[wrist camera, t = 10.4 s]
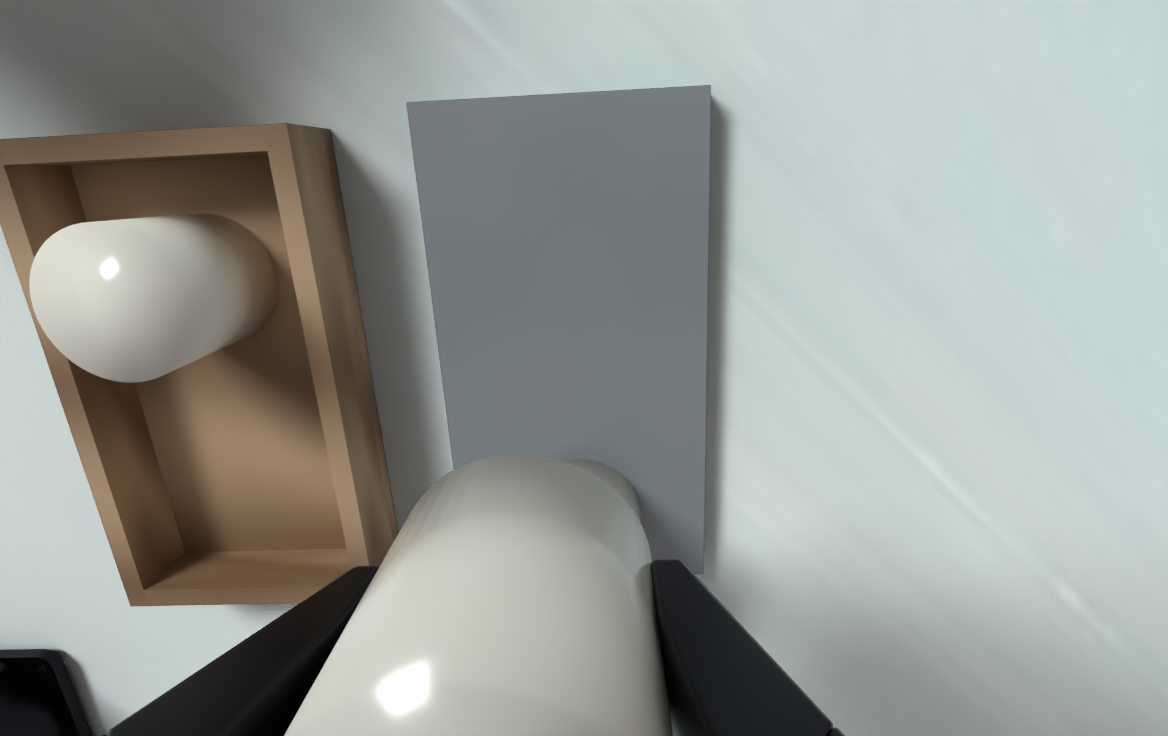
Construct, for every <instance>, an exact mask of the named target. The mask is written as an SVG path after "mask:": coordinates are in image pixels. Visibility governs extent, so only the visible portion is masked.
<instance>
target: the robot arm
mask: <svg viewBox="0 0 1168 736" xmlns="http://www.w3.org/2000/svg"><path fill="white" fill-rule="evenodd" d="M379 567H380V566H357V567H354V568H352V569H351V570H349V571H348V572H346V573H345V574H343V575H342V576H340V577H339V578H337V579H336V580H334V581H333V582H331V583H330V584H328V585H327V586H325V587H324V588H322V589H321V590H319V591H318V592H316V593H315V594H313V595H312V596H310V597H309V598H307V599H306V600H304V601H303V602H301V603H300V604H298V605H297V606H295V607H294V608H292V609H291V610H289V611H287V612H286V613H284V614H283V615H281V616H280V617H278V618H277V619H275V620H274V621H272V622H271V623H269V624H268V625H266V626H265V627H263V628H262V629H260V630H259V631H257V632H256V633H254V634H253V635H251V636H250V637H248V638H247V639H245V640H244V641H242V642H241V643H239V644H238V645H236V646H235V647H233V648H232V649H230V650H229V651H227V652H226V653H224V654H223V655H221V656H220V657H218V658H217V659H215V660H214V661H212V662H211V663H209V664H208V665H206V666H205V667H203V668H202V669H200V670H199V671H197V672H196V673H194V674H193V675H191V676H190V677H188V678H187V679H185V680H184V681H182V682H181V683H179V684H178V685H176V686H175V687H173V688H172V689H170V690H169V691H167V692H166V693H164V694H163V695H161V696H160V697H158V698H157V699H155V700H154V701H152V702H151V703H149V704H148V705H146V706H145V707H143V708H142V709H140V710H139V711H137V712H136V713H134V714H132V715H131V716H129V717H128V718H126V719H125V720H123V721H122V722H120V723H119V724H117V725H116V726H114V727H113V728H112V729H110V731H109V733H108V736H284V735H285V733H286V731H287V729H288V728H289V726H290V724H291V722H292V721H293V719H294V717H295V715H296V714H297V712H298V710H299V708H300V706H301V705H302V703H303V701H304V699H305V698H306V696H307V694H308V692H309V691H310V689H311V687H312V685H313V683H314V682H315V680H316V678H317V676H318V675H319V673H320V671H321V669H322V668H323V666H324V664H325V662H326V661H327V659H328V657H329V655H330V653H331V652H332V650H333V648H334V646H335V645H336V643H337V641H338V639H339V638H340V636H341V634H342V632H343V630H344V629H345V627H346V625H347V623H348V622H349V620H350V618H351V616H352V615H353V613H354V611H355V609H356V607H357V606H358V604H359V602H360V600H361V599H362V597H363V595H364V593H365V592H366V590H367V588H368V586H369V584H370V583H371V581H372V579H373V577H374V576H375V574H376V572H377V570H378V569H379ZM651 570H652V578H653V587H654V595H655V604H656V612H657V621H658V629H659V636H660V643H661V649H662V655H663V661H664V667H665V674H666V682H667V690H668V699H669V707H670V715H671V723H672V732H673V736H845V735H844V734H843V733H842V732H841V731H840V730H839V729H838V728H833V723H832V722H831V721H830V720H829V719H828V717H827V716H826V715H825V714H824V713H823V712H822V711H821V710H820V709H819V708H818V707H817V706H816V705H815V704H814V702H813V701H812V700H811V699H810V698H809V697H808V696H807V695H806V694H805V693H804V692H803V691H802V690H801V689H800V687H799V686H798V685H797V684H796V683H795V682H794V681H793V680H792V679H791V678H790V677H789V676H788V675H787V673H786V672H785V671H784V670H783V669H782V668H781V667H780V666H779V665H778V664H777V663H776V662H775V661H774V660H773V658H772V657H771V656H770V655H769V654H768V653H767V652H766V651H765V650H764V649H763V648H762V647H761V646H760V645H759V643H758V642H757V641H756V640H755V639H754V638H753V637H752V636H751V635H750V634H749V633H748V632H747V631H746V629H745V628H744V627H743V626H742V625H741V624H740V623H739V622H738V621H737V620H736V619H735V618H734V617H733V616H732V614H731V613H730V612H729V611H728V610H727V609H726V608H725V607H724V606H723V605H722V604H721V603H720V602H719V600H718V599H717V598H716V597H715V596H714V595H713V594H712V593H711V592H710V591H709V590H708V589H707V588H706V587H705V585H704V584H703V583H702V582H701V581H700V580H699V579H698V578H697V577H696V576H695V575H694V574H693V573H692V572H691V570H690V569H689V568H688V567H687V566H686V565H685V564H684V563H683V562H682V561H681V560H679V559H659V560H654V561H652V563H651ZM0 736H92V735H91V732H90V730H89V727H88V725H87V722H86V720H85V717H84V715H83V712H82V710H81V707H80V705H79V702H78V700H77V697H76V694H75V692H74V689H73V687H72V684H71V682H70V679H69V677H68V674H67V672H66V669H65V667H64V664H63V662H62V659H61V658H60V656H59V655H58V654H57V653H55V652H53V651H51V650H47V649H30V650H0ZM101 736H107V735H106V734H103V735H101Z"/></svg>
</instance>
